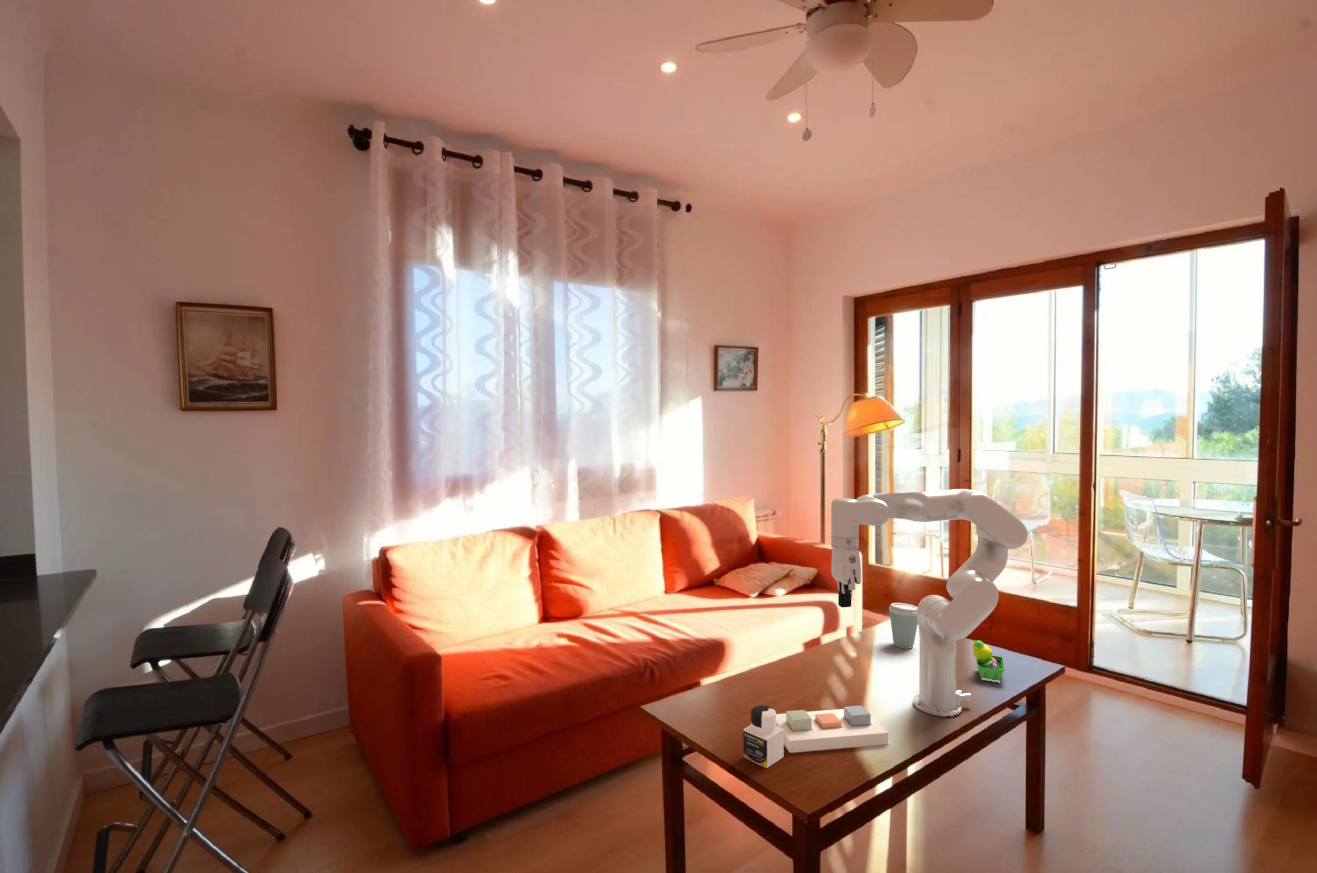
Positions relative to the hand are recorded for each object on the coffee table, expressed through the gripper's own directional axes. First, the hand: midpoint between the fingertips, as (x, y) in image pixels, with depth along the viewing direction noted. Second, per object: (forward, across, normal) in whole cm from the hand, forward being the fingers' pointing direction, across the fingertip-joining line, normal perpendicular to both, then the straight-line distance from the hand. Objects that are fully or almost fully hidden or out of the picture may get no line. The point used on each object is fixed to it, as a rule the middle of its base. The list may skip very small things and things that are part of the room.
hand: (844, 606), depth 179 cm
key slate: (+27, -14, +3) cm, 31 cm away
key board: (+29, -14, +11) cm, 34 cm away
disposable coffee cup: (+29, +42, -42) cm, 66 cm away
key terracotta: (+29, -14, +11) cm, 34 cm away
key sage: (+27, -14, +19) cm, 36 cm away
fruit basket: (+29, +13, -54) cm, 63 cm away
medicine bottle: (+29, -22, +31) cm, 48 cm away
